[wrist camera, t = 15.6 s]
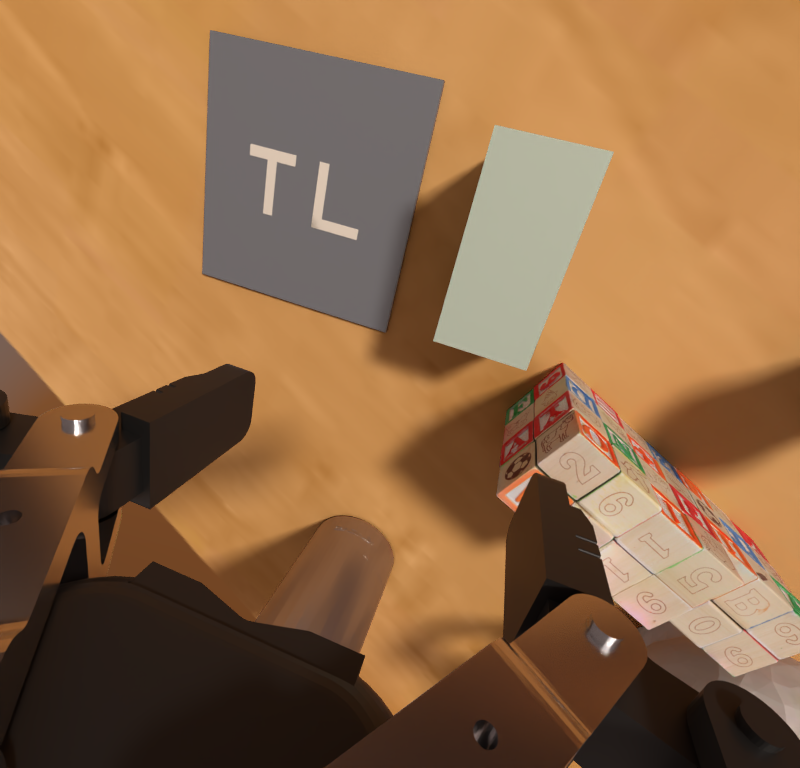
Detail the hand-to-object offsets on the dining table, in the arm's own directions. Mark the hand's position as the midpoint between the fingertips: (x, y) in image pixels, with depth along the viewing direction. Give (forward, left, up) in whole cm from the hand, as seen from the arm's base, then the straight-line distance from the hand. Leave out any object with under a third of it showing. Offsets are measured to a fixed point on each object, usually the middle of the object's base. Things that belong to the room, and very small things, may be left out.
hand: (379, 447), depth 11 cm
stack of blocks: (-10, -16, -24) cm, 31 cm away
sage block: (+4, -2, -24) cm, 24 cm away
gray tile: (+4, +15, -24) cm, 28 cm away
